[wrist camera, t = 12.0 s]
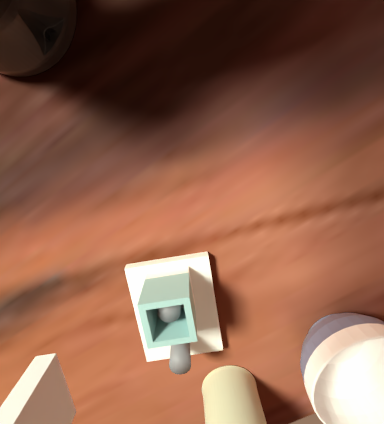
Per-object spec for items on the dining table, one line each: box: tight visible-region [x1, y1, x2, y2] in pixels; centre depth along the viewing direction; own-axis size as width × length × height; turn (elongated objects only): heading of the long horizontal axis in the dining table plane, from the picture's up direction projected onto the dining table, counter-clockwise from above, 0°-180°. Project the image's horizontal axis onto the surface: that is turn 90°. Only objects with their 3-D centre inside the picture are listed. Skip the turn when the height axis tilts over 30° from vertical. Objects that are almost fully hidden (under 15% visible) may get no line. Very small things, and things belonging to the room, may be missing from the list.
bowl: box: [300, 313, 384, 424], centre depth 40 cm, size 16×16×10 cm
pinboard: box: [125, 251, 223, 374], centre depth 38 cm, size 16×12×8 cm
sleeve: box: [137, 266, 197, 349], centre depth 36 cm, size 6×6×8 cm
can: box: [202, 365, 267, 424], centre depth 40 cm, size 9×9×12 cm
